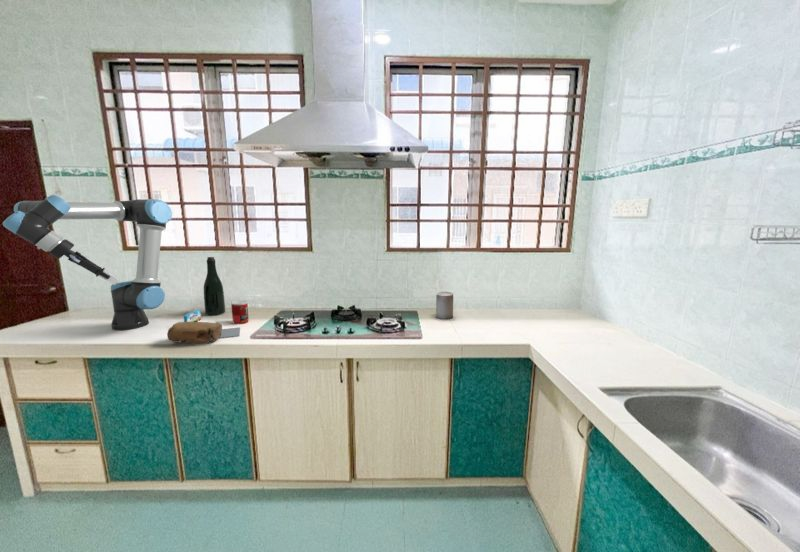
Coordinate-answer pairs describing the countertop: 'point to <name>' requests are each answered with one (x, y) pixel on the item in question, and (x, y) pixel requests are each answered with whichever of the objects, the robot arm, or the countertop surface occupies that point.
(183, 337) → the brown lumpy oval piece
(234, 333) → the mat
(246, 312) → the canned food
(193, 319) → the blue snack box
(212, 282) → the beer bottle
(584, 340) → the countertop surface
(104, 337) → the countertop surface
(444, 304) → the pillar candle
